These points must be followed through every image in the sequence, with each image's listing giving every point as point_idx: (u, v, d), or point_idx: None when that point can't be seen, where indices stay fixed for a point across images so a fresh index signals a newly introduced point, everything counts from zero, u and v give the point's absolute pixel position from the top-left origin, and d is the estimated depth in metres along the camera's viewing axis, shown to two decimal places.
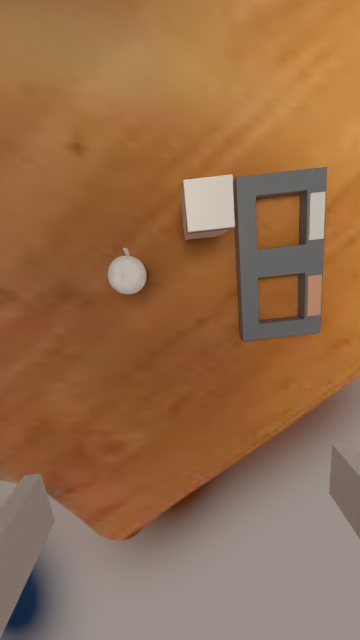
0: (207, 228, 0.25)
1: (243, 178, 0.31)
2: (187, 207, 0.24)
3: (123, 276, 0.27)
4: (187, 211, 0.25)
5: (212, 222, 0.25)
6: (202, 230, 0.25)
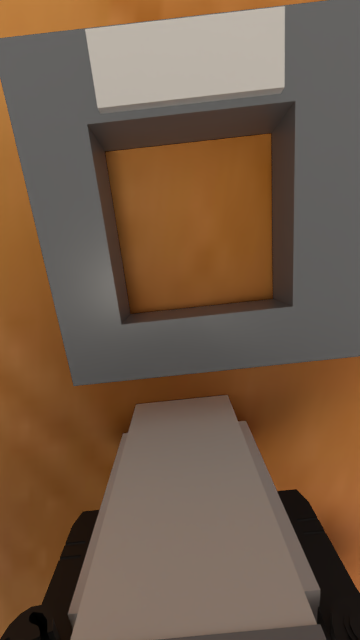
0: None
1: (74, 365, 0.10)
2: None
3: None
4: None
5: None
6: None
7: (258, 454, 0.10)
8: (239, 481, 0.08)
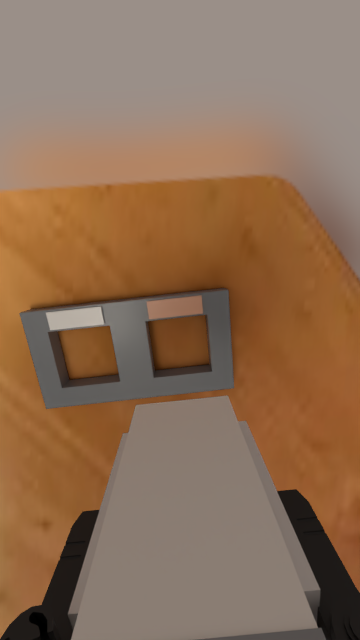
0: None
1: (46, 401, 0.28)
2: None
3: None
4: None
5: None
6: None
7: (258, 454, 0.10)
8: (239, 482, 0.08)
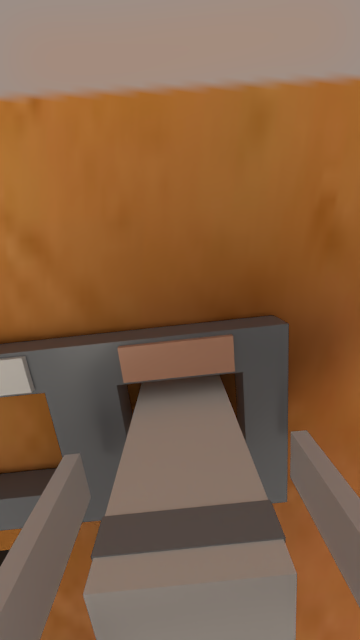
0: None
1: None
2: None
3: None
4: None
5: None
6: None
7: (334, 469, 0.09)
8: (223, 429, 0.10)
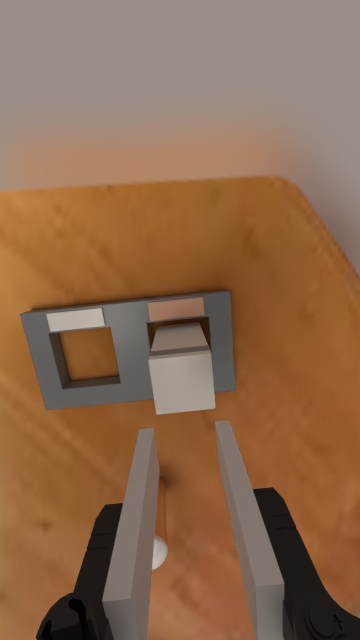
0: (212, 386, 0.19)
1: (46, 403, 0.28)
2: (186, 409, 0.20)
3: None
4: (191, 409, 0.20)
5: (205, 380, 0.19)
6: None
7: (238, 453, 0.10)
8: (196, 335, 0.23)
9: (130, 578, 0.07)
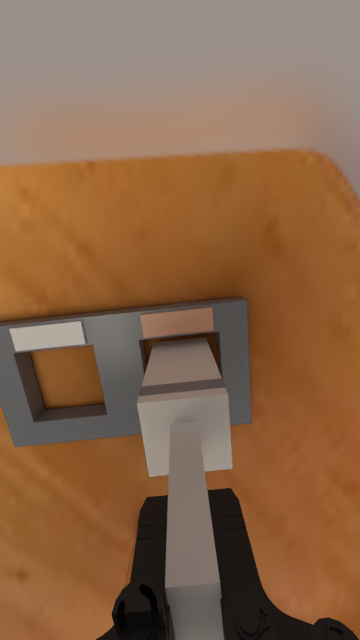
0: (228, 439, 0.13)
1: (14, 438, 0.23)
2: None
3: None
4: None
5: (218, 431, 0.13)
6: None
7: (200, 454, 0.10)
8: (204, 358, 0.18)
9: (189, 566, 0.07)
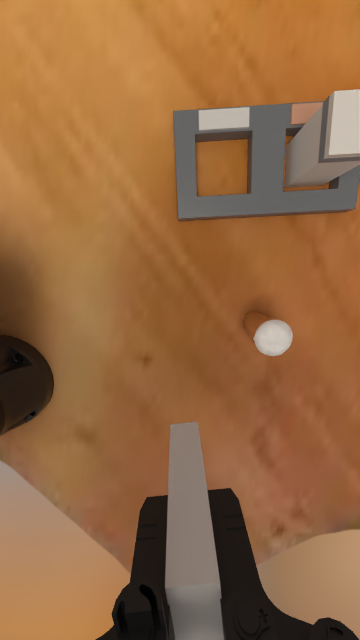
0: None
1: (179, 210, 0.31)
2: (357, 151, 0.22)
3: (276, 342, 0.28)
4: None
5: None
6: None
7: (200, 454, 0.10)
8: None
9: (189, 566, 0.07)
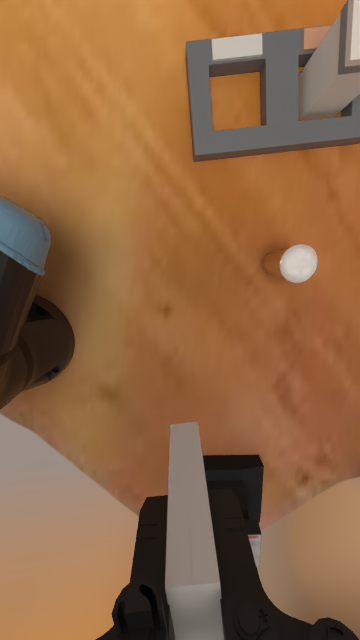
0: None
1: (196, 147, 0.31)
2: None
3: (303, 265, 0.28)
4: None
5: None
6: None
7: (200, 454, 0.10)
8: None
9: (189, 566, 0.07)
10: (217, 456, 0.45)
